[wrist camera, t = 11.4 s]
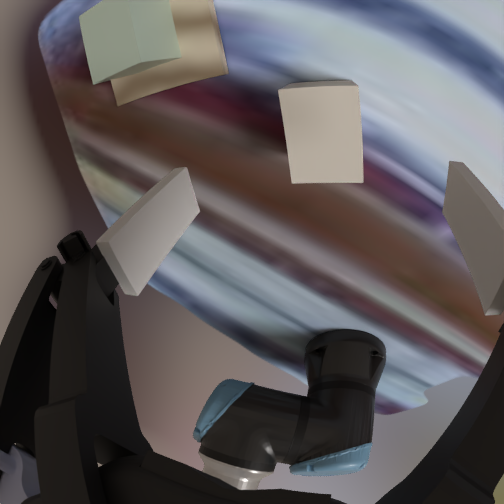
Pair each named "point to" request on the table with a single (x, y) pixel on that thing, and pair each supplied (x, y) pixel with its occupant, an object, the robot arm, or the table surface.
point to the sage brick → (128, 37)
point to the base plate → (192, 52)
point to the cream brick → (323, 131)
